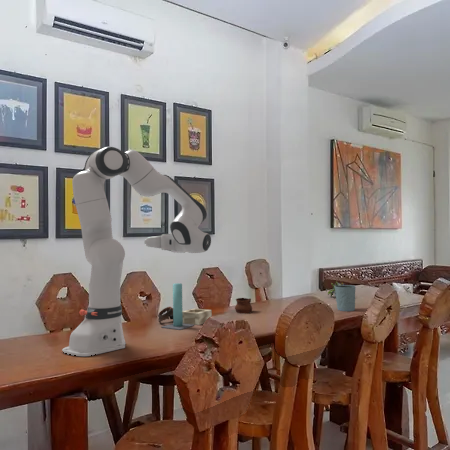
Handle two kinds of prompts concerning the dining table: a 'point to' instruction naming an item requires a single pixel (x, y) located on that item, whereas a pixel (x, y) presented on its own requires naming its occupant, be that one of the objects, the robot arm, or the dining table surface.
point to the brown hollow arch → (166, 315)
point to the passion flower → (334, 288)
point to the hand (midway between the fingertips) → (153, 241)
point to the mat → (177, 327)
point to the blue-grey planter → (345, 297)
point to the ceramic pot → (243, 305)
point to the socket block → (196, 316)
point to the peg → (177, 305)
